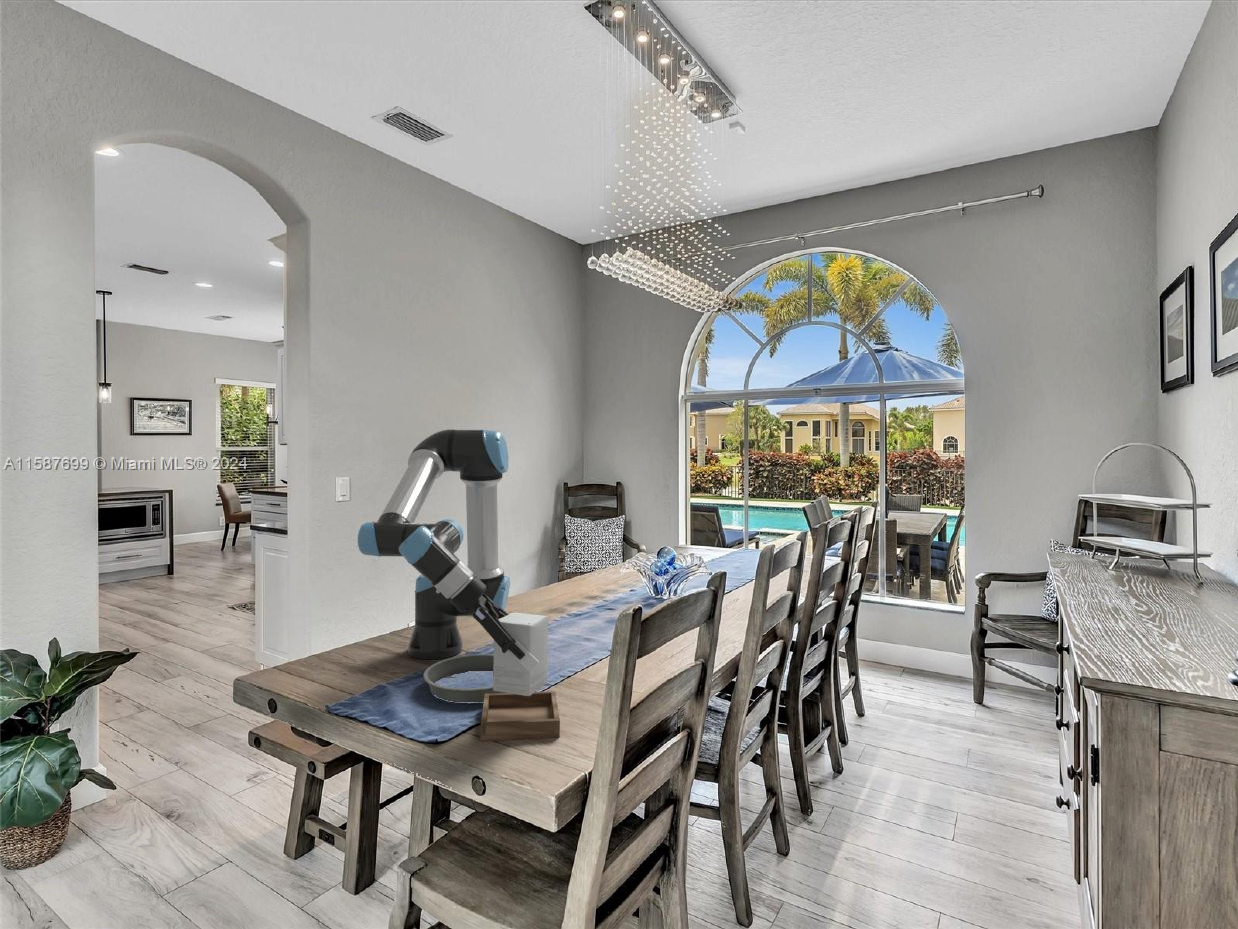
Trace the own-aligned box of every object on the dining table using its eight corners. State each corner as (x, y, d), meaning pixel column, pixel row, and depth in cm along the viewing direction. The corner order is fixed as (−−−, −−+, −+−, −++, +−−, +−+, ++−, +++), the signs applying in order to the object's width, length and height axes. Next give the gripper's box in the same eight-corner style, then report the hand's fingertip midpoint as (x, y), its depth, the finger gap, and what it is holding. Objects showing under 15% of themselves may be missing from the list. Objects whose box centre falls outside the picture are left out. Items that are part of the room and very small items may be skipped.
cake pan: (403, 688, 156) (403, 670, 156) (484, 664, 175) (484, 648, 175) (462, 717, 140) (463, 697, 140) (545, 687, 159) (545, 669, 159)
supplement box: (548, 683, 140) (550, 615, 140) (529, 697, 131) (531, 625, 131) (512, 677, 143) (513, 611, 143) (491, 691, 134) (492, 620, 134)
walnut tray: (484, 709, 144) (484, 694, 144) (554, 706, 147) (555, 691, 147) (480, 741, 129) (480, 724, 128) (559, 737, 131) (559, 720, 131)
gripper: (454, 588, 146) (520, 652, 149) (442, 614, 122) (520, 690, 125) (478, 564, 147) (543, 629, 150) (470, 586, 123) (548, 662, 126)
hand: (533, 657), depth 137 cm, fingers closed on supplement box, 12 cm apart
